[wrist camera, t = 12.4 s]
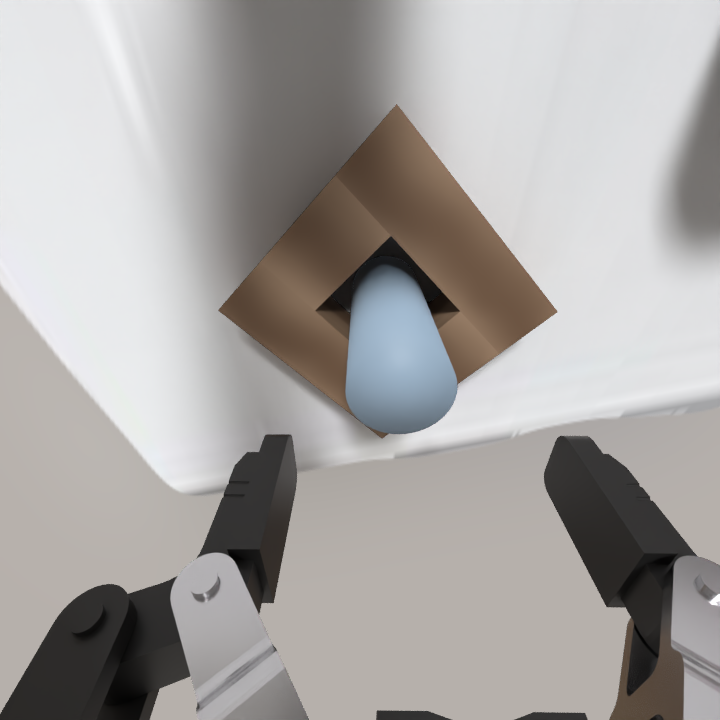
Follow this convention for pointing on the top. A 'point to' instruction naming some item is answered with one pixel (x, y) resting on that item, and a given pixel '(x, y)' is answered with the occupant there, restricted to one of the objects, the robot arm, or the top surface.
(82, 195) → the top surface
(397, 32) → the top surface
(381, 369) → the peg
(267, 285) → the socket block
